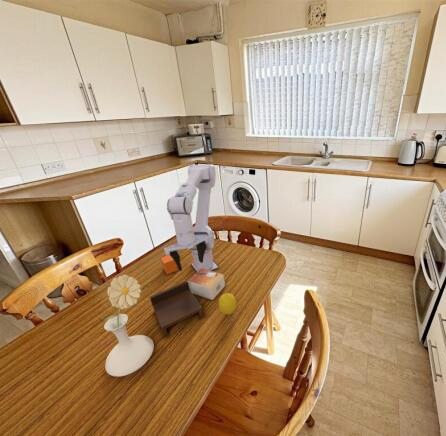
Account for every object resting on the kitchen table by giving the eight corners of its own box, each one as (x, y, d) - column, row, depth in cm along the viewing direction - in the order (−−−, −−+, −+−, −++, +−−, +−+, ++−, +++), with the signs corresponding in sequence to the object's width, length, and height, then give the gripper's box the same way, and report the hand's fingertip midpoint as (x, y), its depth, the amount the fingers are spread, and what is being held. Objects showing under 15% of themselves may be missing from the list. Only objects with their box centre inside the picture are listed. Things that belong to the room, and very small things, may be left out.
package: (163, 268, 100) (160, 258, 98) (174, 264, 103) (171, 254, 100) (167, 274, 97) (163, 263, 94) (177, 270, 99) (175, 259, 97)
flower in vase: (121, 389, 57) (83, 313, 46) (99, 365, 63) (59, 292, 52) (169, 347, 67) (146, 275, 56) (145, 329, 73) (120, 262, 62)
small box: (210, 288, 80) (186, 280, 84) (212, 300, 83) (189, 292, 87) (223, 274, 87) (200, 267, 91) (225, 285, 90) (203, 279, 93)
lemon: (240, 309, 78) (238, 291, 75) (231, 322, 74) (228, 303, 71) (227, 305, 81) (224, 286, 77) (216, 317, 76) (213, 298, 73)
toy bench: (155, 312, 79) (149, 296, 76) (190, 296, 85) (186, 280, 82) (164, 337, 70) (159, 320, 67) (203, 316, 76) (200, 300, 73)
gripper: (165, 241, 74) (173, 278, 78) (209, 228, 82) (214, 262, 87) (159, 234, 79) (167, 269, 84) (201, 223, 87) (206, 255, 92)
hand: (190, 265), depth 86 cm, fingers open, 7 cm apart
